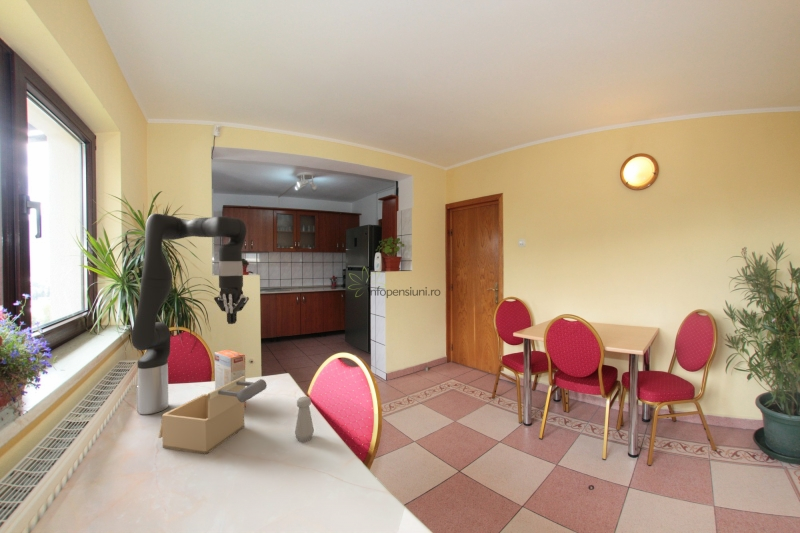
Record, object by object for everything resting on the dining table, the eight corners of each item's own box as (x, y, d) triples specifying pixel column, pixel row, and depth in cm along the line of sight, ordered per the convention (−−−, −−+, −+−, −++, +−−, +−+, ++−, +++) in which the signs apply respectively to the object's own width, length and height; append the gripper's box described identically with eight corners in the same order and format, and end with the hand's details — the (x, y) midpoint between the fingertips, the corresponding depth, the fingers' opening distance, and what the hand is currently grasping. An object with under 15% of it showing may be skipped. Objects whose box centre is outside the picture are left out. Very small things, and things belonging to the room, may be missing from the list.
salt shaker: (317, 435, 105) (317, 395, 104) (306, 444, 99) (306, 403, 99) (302, 432, 106) (301, 393, 106) (291, 441, 101) (290, 400, 101)
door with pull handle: (208, 390, 95) (240, 395, 92) (243, 373, 109) (272, 376, 107) (207, 419, 95) (239, 425, 92) (243, 398, 110) (271, 402, 107)
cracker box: (246, 407, 125) (246, 354, 125) (230, 413, 120) (229, 358, 120) (230, 398, 134) (229, 348, 133) (214, 403, 129) (213, 351, 128)
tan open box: (156, 446, 99) (156, 414, 99) (200, 421, 115) (199, 393, 114) (206, 454, 95) (205, 420, 95) (244, 426, 110) (243, 397, 110)
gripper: (206, 274, 111) (207, 325, 111) (239, 274, 108) (240, 326, 108) (223, 274, 118) (224, 321, 118) (254, 273, 115) (255, 322, 115)
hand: (231, 323), depth 113 cm, fingers closed
